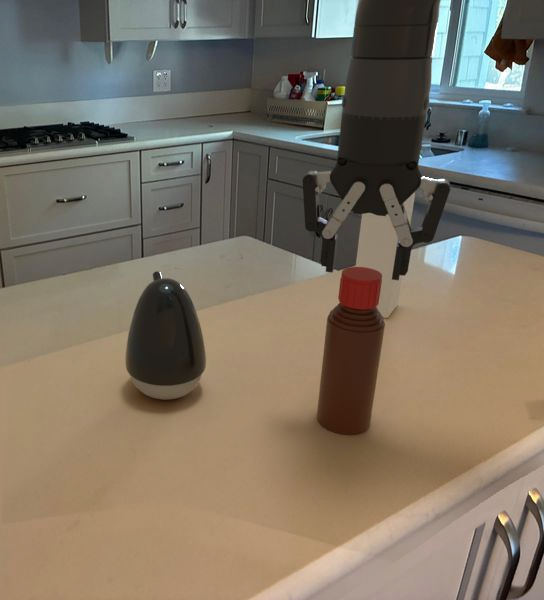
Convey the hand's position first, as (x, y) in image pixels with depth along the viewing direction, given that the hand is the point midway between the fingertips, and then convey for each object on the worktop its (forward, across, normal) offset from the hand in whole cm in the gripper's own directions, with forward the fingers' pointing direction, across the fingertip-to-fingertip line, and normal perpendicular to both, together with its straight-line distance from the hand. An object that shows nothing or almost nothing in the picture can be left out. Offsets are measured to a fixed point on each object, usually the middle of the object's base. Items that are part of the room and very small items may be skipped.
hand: (362, 273), depth 65 cm
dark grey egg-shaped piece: (+19, +22, +1) cm, 29 cm away
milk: (+19, -1, -34) cm, 39 cm away
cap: (+3, 0, 0) cm, 3 cm away
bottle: (+18, 0, 0) cm, 18 cm away
